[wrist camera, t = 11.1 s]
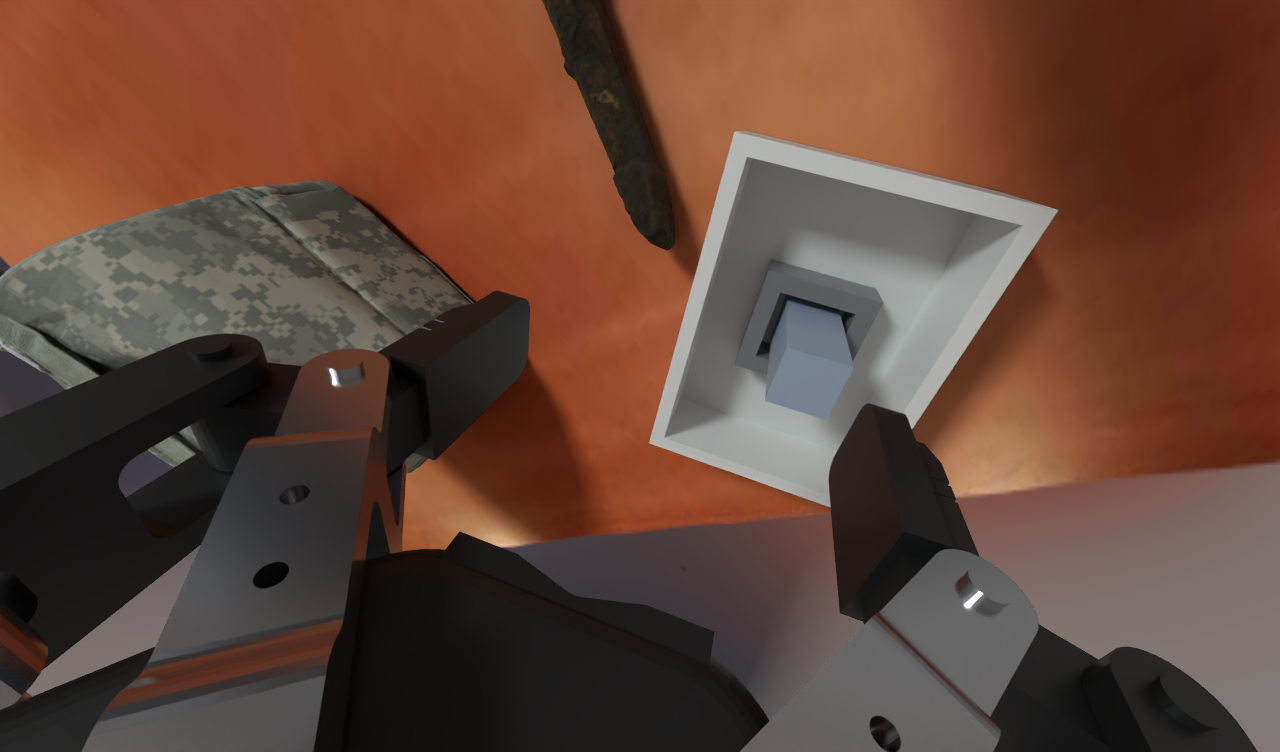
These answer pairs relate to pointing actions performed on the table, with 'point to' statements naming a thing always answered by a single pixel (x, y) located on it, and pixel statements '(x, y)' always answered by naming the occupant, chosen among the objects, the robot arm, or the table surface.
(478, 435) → the table surface
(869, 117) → the table surface
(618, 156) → the hand tool
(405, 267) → the lunch bag
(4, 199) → the table surface
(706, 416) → the walled box
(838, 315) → the plug
